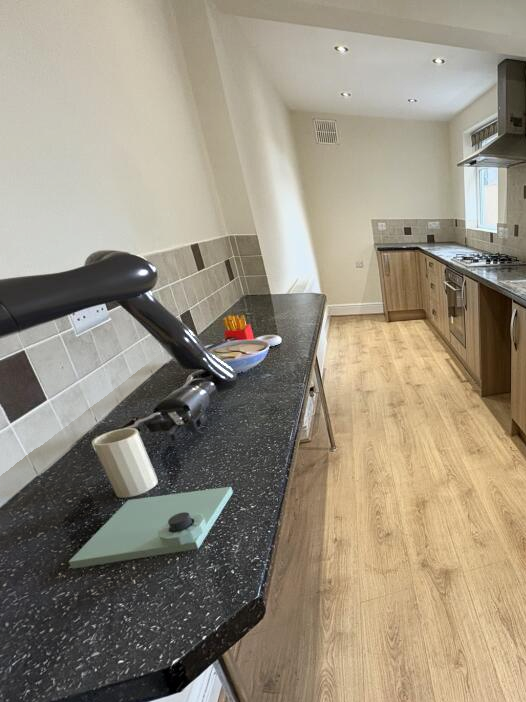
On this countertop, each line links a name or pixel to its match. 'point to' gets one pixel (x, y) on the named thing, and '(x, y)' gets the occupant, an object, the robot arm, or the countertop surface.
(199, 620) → the countertop surface
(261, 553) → the countertop surface
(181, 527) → the button
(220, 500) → the scale
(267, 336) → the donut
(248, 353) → the ramen bowl
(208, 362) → the robot arm
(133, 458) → the cup
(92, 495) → the countertop surface
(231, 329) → the french fries container
